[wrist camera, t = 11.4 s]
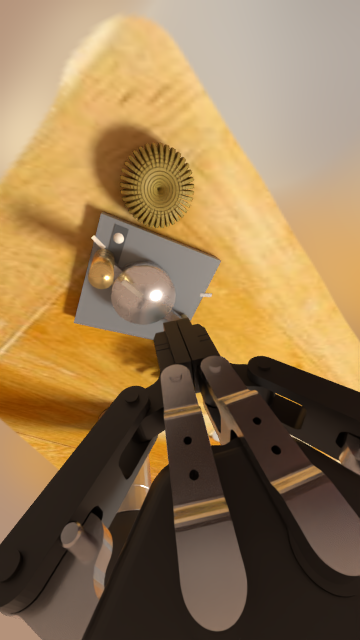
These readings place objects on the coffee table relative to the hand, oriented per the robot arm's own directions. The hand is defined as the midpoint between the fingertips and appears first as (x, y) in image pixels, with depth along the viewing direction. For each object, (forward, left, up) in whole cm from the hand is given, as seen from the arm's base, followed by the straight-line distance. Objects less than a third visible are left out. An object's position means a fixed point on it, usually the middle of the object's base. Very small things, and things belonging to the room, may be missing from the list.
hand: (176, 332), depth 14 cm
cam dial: (-6, -2, -18) cm, 19 cm away
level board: (-6, -2, -20) cm, 21 cm away
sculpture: (+6, +1, -20) cm, 21 cm away
